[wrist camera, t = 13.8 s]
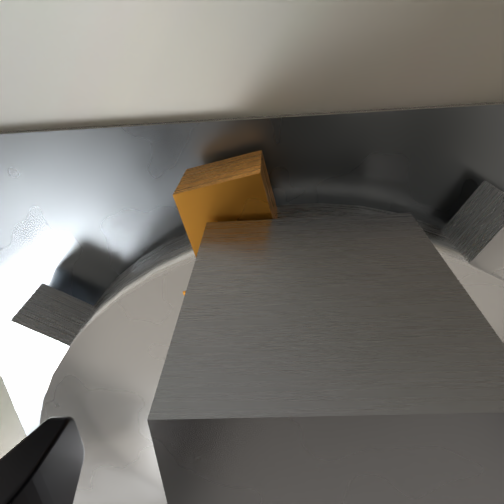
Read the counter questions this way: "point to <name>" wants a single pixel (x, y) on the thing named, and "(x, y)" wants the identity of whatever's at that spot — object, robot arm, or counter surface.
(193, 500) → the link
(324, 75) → the counter surface
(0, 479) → the robot arm
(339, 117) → the cover plate
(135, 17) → the counter surface
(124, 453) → the sprocket
